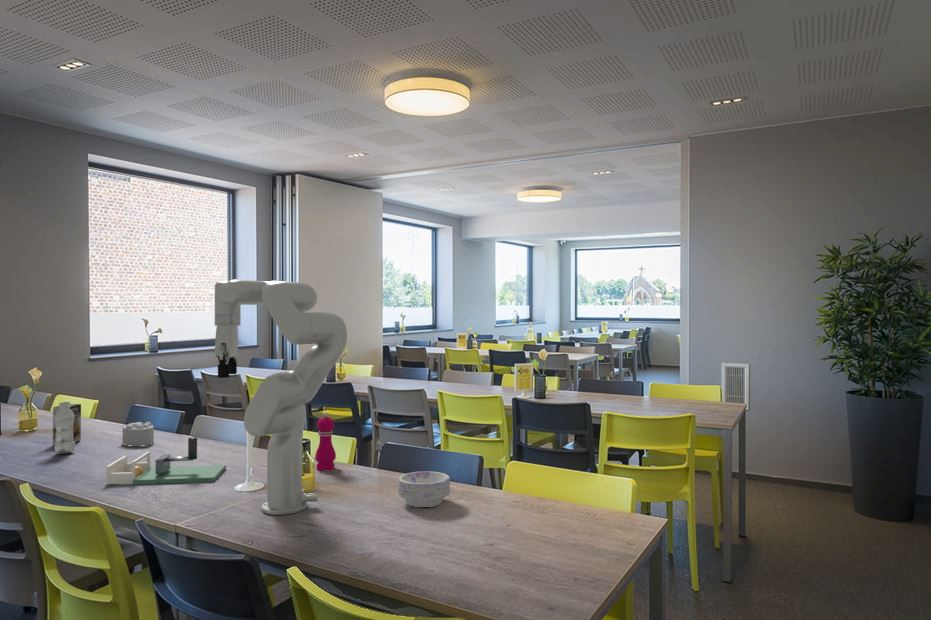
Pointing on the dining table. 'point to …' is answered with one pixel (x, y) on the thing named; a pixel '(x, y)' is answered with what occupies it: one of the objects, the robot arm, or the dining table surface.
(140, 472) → the ball
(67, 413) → the plastic bottle
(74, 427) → the coffee box
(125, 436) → the lumpy-topped squat cylinder
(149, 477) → the pitch board
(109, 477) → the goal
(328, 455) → the pepper mill
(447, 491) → the paper bowls
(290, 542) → the dining table surface
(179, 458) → the grey mallet
